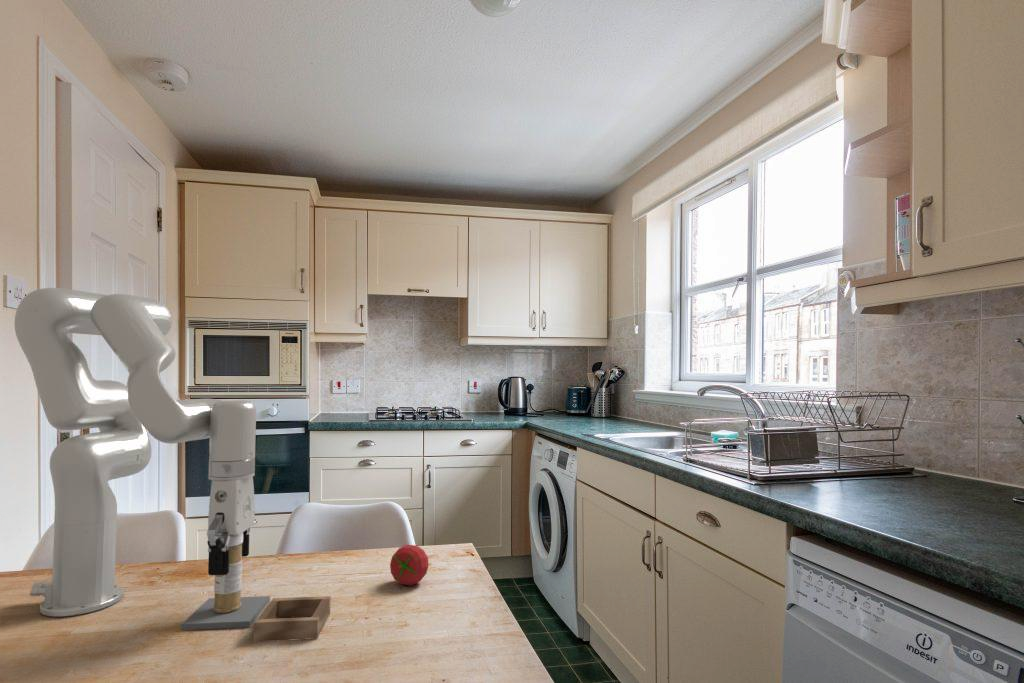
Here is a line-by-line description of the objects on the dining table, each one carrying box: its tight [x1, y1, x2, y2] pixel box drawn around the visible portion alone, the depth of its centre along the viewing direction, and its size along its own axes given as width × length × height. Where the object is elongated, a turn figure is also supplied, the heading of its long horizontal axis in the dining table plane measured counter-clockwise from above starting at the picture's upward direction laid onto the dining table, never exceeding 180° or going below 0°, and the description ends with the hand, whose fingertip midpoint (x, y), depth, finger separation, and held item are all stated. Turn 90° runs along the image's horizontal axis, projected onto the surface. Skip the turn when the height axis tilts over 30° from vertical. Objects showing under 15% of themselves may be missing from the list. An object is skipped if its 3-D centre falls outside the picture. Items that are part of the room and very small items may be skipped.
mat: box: [180, 595, 271, 631], centre depth 103 cm, size 11×11×1 cm
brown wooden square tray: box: [253, 595, 332, 643], centre depth 98 cm, size 10×10×3 cm
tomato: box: [389, 544, 430, 586], centre depth 118 cm, size 8×8×8 cm
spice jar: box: [213, 532, 243, 613], centre depth 103 cm, size 5×5×14 cm
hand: (229, 564), depth 103 cm, fingers open, 9 cm apart
